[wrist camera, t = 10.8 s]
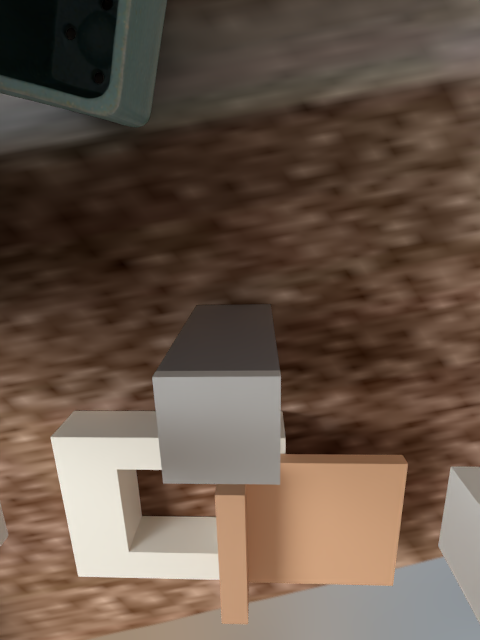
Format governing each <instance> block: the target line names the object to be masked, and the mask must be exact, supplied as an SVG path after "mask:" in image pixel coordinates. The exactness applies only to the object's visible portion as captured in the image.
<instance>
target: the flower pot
mask: <svg viewBox="0 0 480 640" xmlns="http://www.w3.org/2000/svg"><path fill="white" fill-rule="evenodd" d="M103 1H104V0H0V93H2V94H6V95H11V96H15V97H19V98H23V99H28V100H32V101H36V102H40V103H43V104H47V105H51V106H55V107H59V108H63V109H67V110H71V111H75V112H78V113H82V114H86V115H90V116H93V117H97V118H101V119H105V120H108V121H112V122H115V123H118V124H122V125H125V126H130V127H141V126H143V125H145V124H146V123H147V122H148V120H149V118H150V114H151V109H152V102H153V94H154V87H155V79H156V72H157V65H158V58H159V51H160V45H161V38H162V31H163V24H164V18H165V11H166V5H167V0H110V1H111V2H112V6H111V8H110V9H108V10H104V9H103V8H102V2H103ZM70 27H71V28H73V29H74V30H75V31H76V37H75V38H74V39H73V40H70V39H68V38H67V36H66V32H67V30H68V29H69V28H70ZM97 72H100V73H102V74H103V76H104V80H103V82H102V83H101V84H98V83H96V82H95V79H94V76H95V74H96V73H97Z"/></svg>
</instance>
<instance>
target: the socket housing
mask: <svg viewBox="0 0 480 640" xmlns="http://www.w3.org/2000/svg"><path fill="white" fill-rule="evenodd" d="M51 442H52V447H53V452H54V457H55V462H56V467H57V472H58V477H59V482H60V487H61V492H62V497H63V502H64V507H65V512H66V517H67V522H68V527H69V532H70V537H71V542H72V547H73V552H74V557H75V562H76V567H77V572H78V576H81V577H123V578H166V579H208V580H220V579H219V561H218V542H217V524H216V517H176V516H142V512H141V504H140V496H139V488H138V480H137V472H136V470H162V467H161V457H160V448H159V438H158V428H157V419H156V411H74V412H73V413H72V414H71V415H70V416H69V417H68V418H67V420H66V421H65V422H64V423H63V424H62V425H61V426H60V427H59V428H58V430H57V431H56V432H55V433H54V434H53V435H52V436H51ZM285 452H286V437H285V429H284V421H283V413H282V411H281V432H280V454H285Z"/></svg>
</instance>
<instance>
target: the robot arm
mask: <svg viewBox="0 0 480 640" xmlns="http://www.w3.org/2000/svg"><path fill="white" fill-rule="evenodd" d="M7 537H8V532H7V528H6V524H5V520H4V516H3V512H2V508H1V504H0V546H1V545H2V544H3V542H4V541H5V540H6V538H7ZM438 546H439V548H440V550H441V552H442V554H443V556H444V558H445V560H446V561H447V563H448V565H449V567H450V569H451V571H452V572H453V575H454V577H455V578H456V580H457V582H458V584H459V586H460V588H461V590H462V592H463V593H464V595H465V597H466V599H467V601H468V603H469V605H470V606H471V608H472V610H473V612H474V614H475V616H476V618H477V620H478V622H479V623H480V467H451V469H450V475H449V482H448V488H447V494H446V500H445V507H444V513H443V519H442V526H441V532H440V538H439V544H438Z"/></svg>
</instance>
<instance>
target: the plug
mask: <svg viewBox="0 0 480 640" xmlns="http://www.w3.org/2000/svg"><path fill="white" fill-rule="evenodd" d="M152 380H153V390H154V399H155V409H156V419H157V428H158V438H159V448H160V457H161V467H162V477H163V483H170V484H274V485H280V432H281V374H280V367H279V360H278V353H277V346H276V338H275V331H274V324H273V317H272V310H271V304H249V305H196V307H195V308H194V310H193V312H192V313H191V315H190V317H189V318H188V320H187V321H186V323H185V325H184V326H183V328H182V330H181V331H180V333H179V334H178V336H177V338H176V339H175V341H174V343H173V344H172V346H171V347H170V349H169V351H168V352H167V354H166V356H165V357H164V359H163V360H162V362H161V364H160V365H159V367H158V369H157V370H156V372H155V373H154V375H153V377H152Z"/></svg>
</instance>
